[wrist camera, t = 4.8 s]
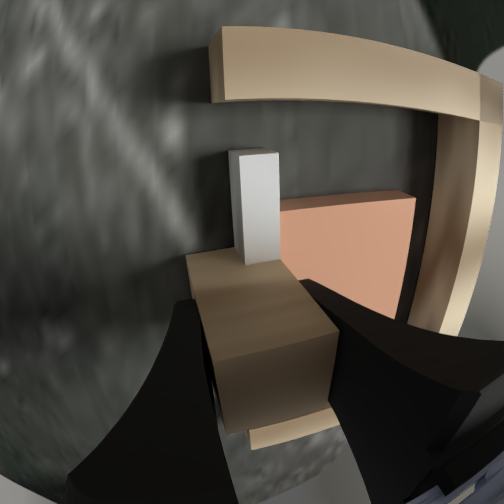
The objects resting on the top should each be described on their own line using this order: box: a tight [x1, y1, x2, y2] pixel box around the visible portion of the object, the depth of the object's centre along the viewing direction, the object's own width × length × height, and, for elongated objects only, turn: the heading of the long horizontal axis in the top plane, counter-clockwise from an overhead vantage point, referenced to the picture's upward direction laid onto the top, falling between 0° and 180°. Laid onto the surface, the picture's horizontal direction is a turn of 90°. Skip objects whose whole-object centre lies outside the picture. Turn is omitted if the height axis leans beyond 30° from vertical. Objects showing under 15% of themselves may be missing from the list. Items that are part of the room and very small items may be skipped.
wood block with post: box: [186, 148, 339, 434], centre depth 10 cm, size 10×3×6 cm, turn 3°
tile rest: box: [209, 26, 503, 450], centre depth 12 cm, size 17×12×2 cm
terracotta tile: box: [280, 190, 416, 319], centre depth 13 cm, size 6×6×2 cm
